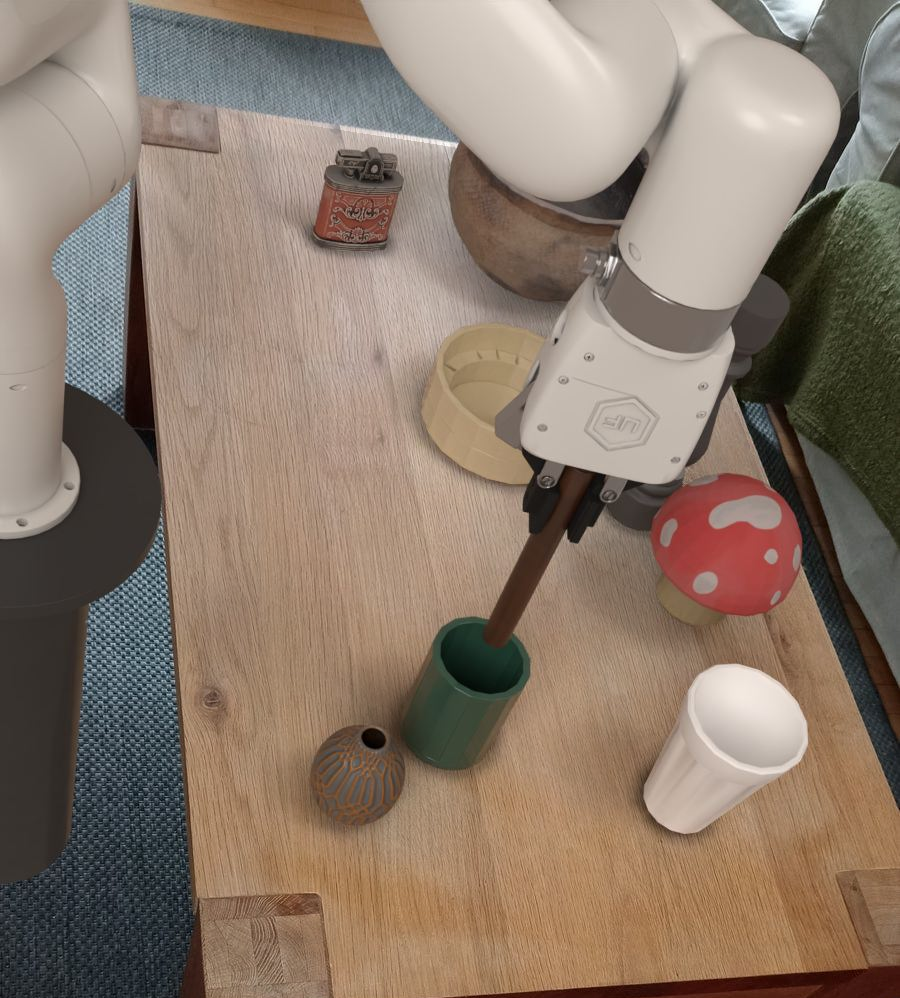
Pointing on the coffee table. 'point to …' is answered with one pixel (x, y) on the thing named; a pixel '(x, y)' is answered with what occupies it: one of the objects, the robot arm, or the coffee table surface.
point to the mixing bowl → (479, 397)
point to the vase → (357, 774)
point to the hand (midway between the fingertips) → (553, 521)
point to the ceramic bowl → (533, 226)
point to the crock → (462, 695)
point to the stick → (536, 558)
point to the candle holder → (750, 336)
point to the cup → (724, 746)
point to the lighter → (357, 201)
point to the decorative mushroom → (725, 549)
